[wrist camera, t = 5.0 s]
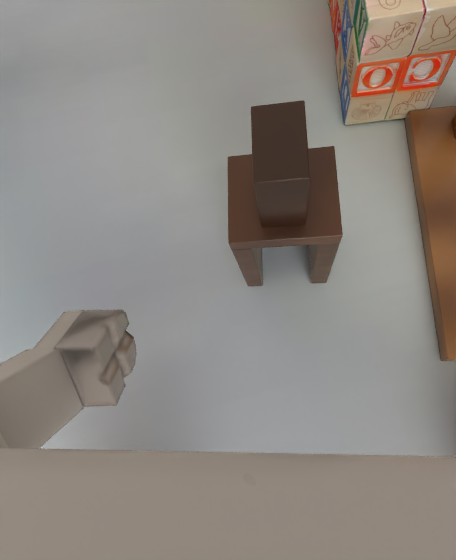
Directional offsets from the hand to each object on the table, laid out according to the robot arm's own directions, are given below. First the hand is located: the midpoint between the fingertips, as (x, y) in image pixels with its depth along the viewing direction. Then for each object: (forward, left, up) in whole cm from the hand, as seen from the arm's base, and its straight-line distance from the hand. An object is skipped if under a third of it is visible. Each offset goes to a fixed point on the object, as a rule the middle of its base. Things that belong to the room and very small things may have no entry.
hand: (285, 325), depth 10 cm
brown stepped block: (-5, +6, -17) cm, 19 cm away
